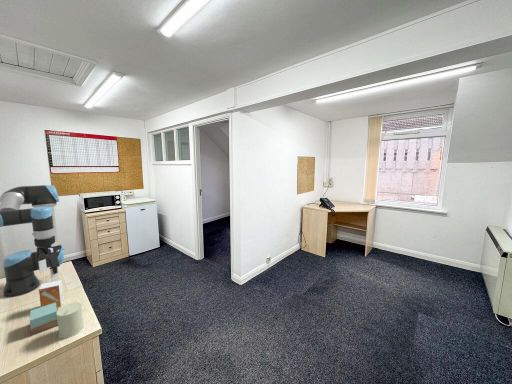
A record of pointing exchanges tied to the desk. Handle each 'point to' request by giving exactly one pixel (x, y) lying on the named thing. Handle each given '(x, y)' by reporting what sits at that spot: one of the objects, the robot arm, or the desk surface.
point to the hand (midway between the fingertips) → (49, 275)
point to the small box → (51, 293)
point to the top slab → (43, 315)
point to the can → (70, 320)
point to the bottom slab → (43, 327)
